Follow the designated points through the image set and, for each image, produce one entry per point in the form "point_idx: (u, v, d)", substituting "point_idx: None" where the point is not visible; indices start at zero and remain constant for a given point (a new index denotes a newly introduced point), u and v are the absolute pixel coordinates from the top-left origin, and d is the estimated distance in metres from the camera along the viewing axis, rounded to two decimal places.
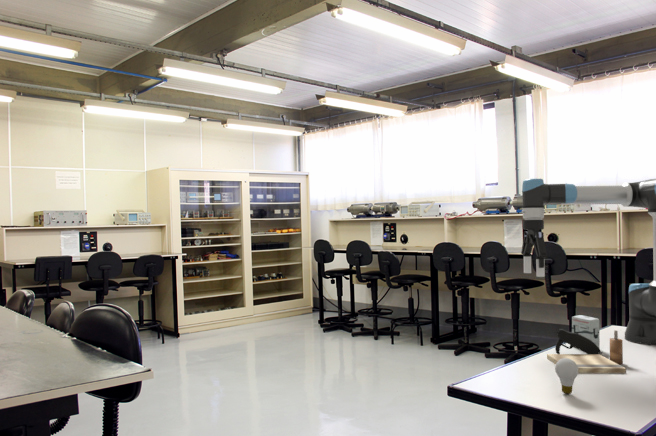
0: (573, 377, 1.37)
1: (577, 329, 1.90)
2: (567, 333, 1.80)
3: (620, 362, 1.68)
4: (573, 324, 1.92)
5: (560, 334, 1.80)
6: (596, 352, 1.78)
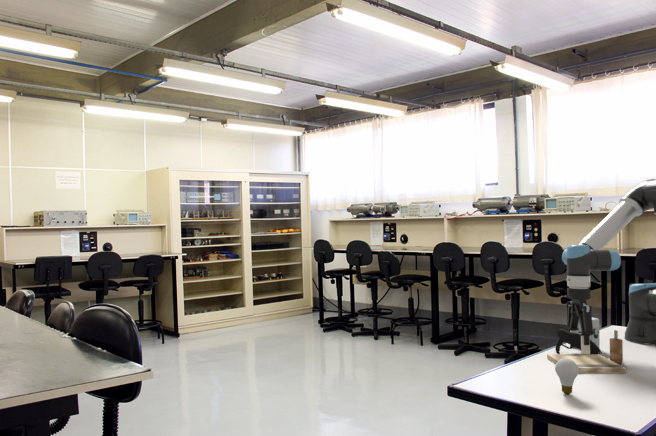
0: (573, 377, 1.37)
1: None
2: (567, 333, 1.80)
3: (620, 362, 1.68)
4: None
5: (560, 334, 1.80)
6: (596, 352, 1.78)
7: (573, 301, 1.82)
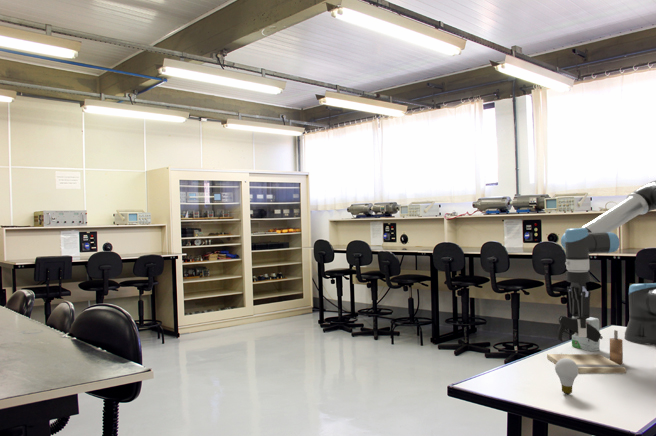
0: (573, 377, 1.37)
1: None
2: (569, 319, 1.79)
3: (620, 362, 1.68)
4: None
5: (562, 321, 1.80)
6: (597, 337, 1.79)
7: (572, 284, 1.82)
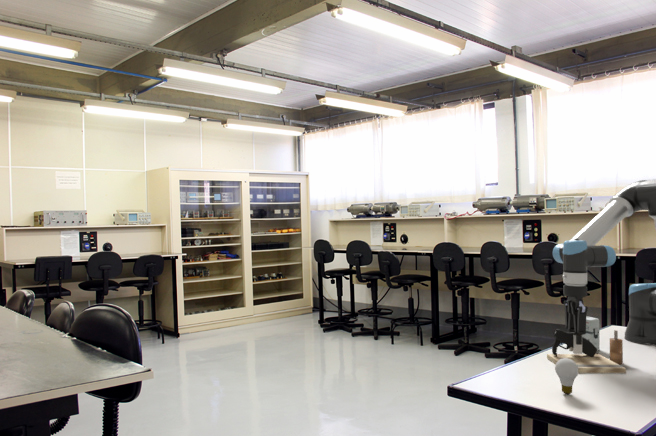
0: (573, 377, 1.37)
1: None
2: (564, 333, 1.72)
3: (620, 362, 1.68)
4: None
5: (557, 334, 1.73)
6: (593, 352, 1.72)
7: (569, 298, 1.76)
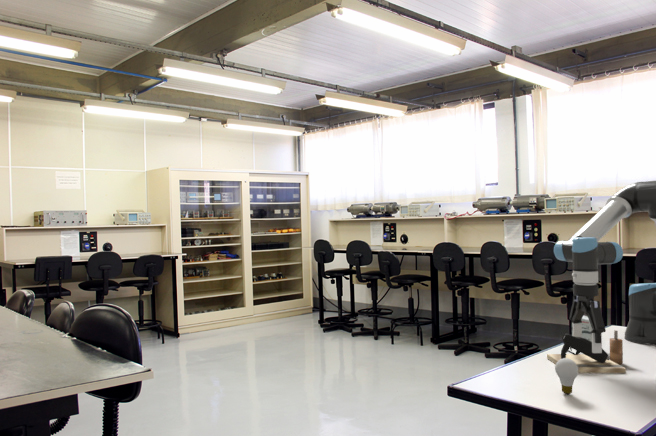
0: (573, 377, 1.37)
1: None
2: (574, 338, 1.65)
3: (620, 362, 1.68)
4: None
5: (566, 339, 1.65)
6: (604, 358, 1.64)
7: (579, 298, 1.68)
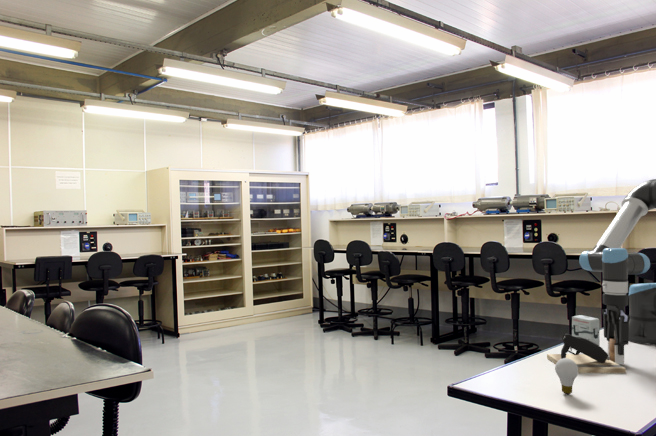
0: (573, 377, 1.37)
1: (577, 329, 1.90)
2: (574, 338, 1.65)
3: None
4: (573, 325, 1.92)
5: (566, 339, 1.65)
6: (604, 358, 1.64)
7: (609, 307, 1.72)
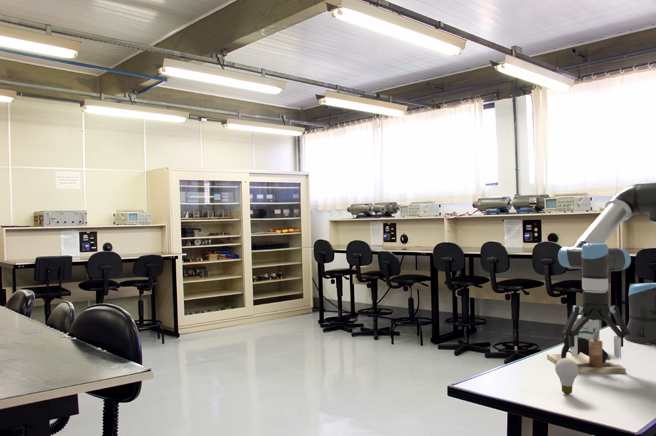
0: (573, 377, 1.37)
1: None
2: None
3: (590, 364, 1.61)
4: (573, 325, 1.92)
5: (567, 339, 1.65)
6: (604, 358, 1.64)
7: None
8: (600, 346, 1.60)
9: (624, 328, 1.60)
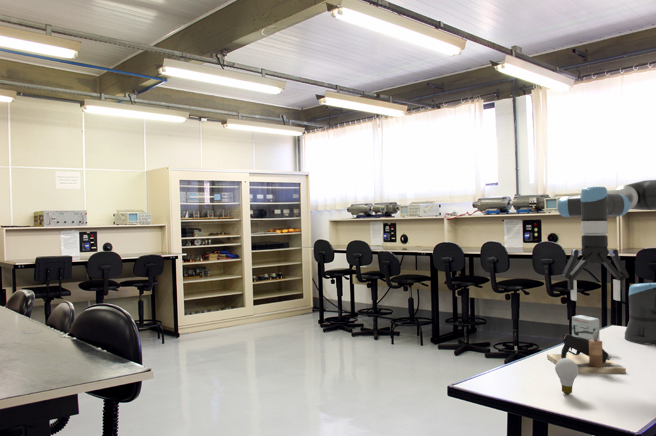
0: (573, 377, 1.37)
1: (577, 329, 1.90)
2: (574, 338, 1.65)
3: (590, 364, 1.61)
4: (573, 325, 1.92)
5: (567, 339, 1.65)
6: (604, 358, 1.64)
7: None
8: (600, 346, 1.60)
9: (623, 271, 1.60)
